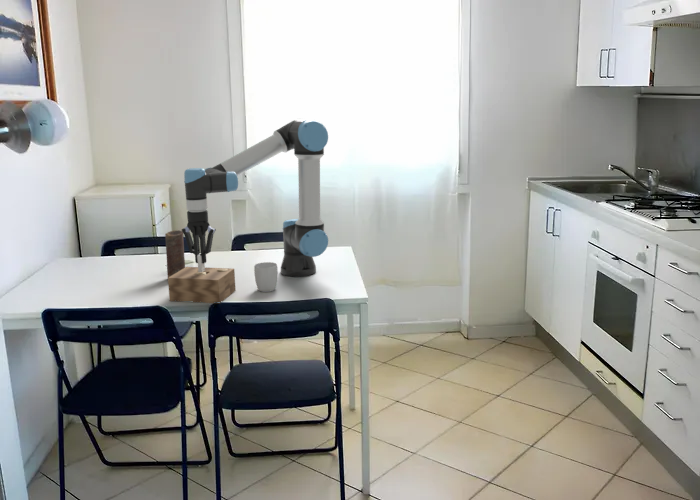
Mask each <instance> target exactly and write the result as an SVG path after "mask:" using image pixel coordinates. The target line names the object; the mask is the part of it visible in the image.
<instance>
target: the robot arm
mask: <svg viewBox="0 0 700 500" xmlns="http://www.w3.org/2000/svg"><path fill="white" fill-rule="evenodd" d="M328 142H329V133H328V129H327V128H326V125H324V124H323V123H322V122H320V121H317V120H315V119H305V118H297V119H294V120H291V121H290V122H288V123H287V124H285V125H283V126H281V127H279V129H276V130H274V131H273V134H272V135H270V136H268V137H266V138H265V139H262V140H261V141H259V142H258V143H255V144H254V145H253V144H252V145H251V146H249V147H248V148H246V149H244V150H243V151H241V152H239V153H236V154H235V155H233V156H231V157H230V158H227V159H226V160H224V161H222V162H220V163H219V164H216V165H214V166H213V167H207V168H205V169H204V168H203V167H196V168H195V167H192V168H191V167H190V168H187V169H185V170H184V174H183V175H184V178H183V179H184V189H185V202H186V203H185V204H186V210H187V212H186V214H187V215H186V217H187V224H186V226H185V227H184V228H182V229H181V231H182V232H183V236H184V237H185V241H186V245H187V248H188V250H189V254H194V256H195V263H196V264H197V267H198V272H203V271H205V268H206V265H205V264H206V263H207V255H208V254H211V250H212V245H213V237H214V235H215V232H216V231H217V230H216V228H215V227H212V226H211V225H210V223H209V214H208V213H209V211H208V200H207V194H214V193H217V194H218V193H229V192H235V191H237V190H238V187H239V180H238V179H239V178H238V176H240V175H242V174H244V173H245V172H248V171H249V170H252V169H253V168H255V167H256V166H259V165H260V164H262V163H263V162H266V161H268V160H269V159H271V158H274V156H276V155H279V154H280V153H287V152H289V151H291V150H293V151H294V153H293V154H294V156H295V157H296V158H297V160H298V161H297V162H298V163H297V164H298V167H297V168H298V173H297V174H298V176H297V177H298V218H291V219H287V220H284V221H283V223H282V233H283V234H282V235H283V236H282V237H283V238H282V239H283V258H282V262H281V266H280V274H281V275H283V276H287V277H306V276H311V275H313V274H315V273H316V272H317V267H316V266H317V265H316V263H315V260H314V258H316V257H318V256H321V255H322V254H323V253H324V252H325V251H326V250H327V248H328V245H329V238H328V234H327V233H326V231H325V222H324V221H323V219H321V158H322V157H323V156H324V155H325V154H324V153H325V147H326V146H327V144H328ZM207 232H208V233H207ZM191 234H192V235H191ZM206 235H207V237H206Z"/></svg>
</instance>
